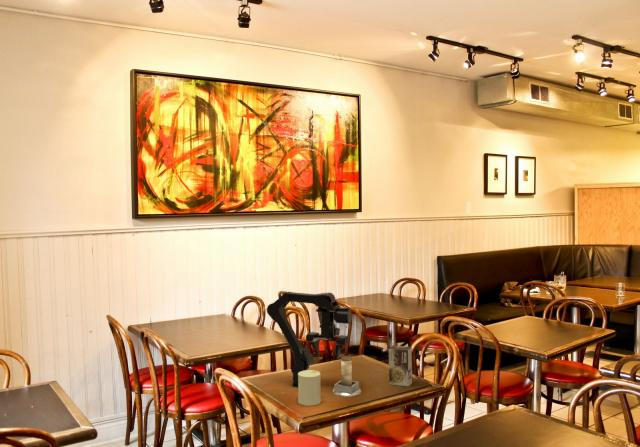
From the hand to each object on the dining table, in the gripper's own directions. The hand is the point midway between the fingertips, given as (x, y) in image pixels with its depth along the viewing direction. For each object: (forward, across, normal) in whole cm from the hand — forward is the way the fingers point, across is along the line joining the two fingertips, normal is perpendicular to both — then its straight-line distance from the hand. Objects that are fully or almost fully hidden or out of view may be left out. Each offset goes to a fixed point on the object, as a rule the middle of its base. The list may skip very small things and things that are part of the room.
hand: (327, 358), depth 237 cm
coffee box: (+13, -26, -19) cm, 35 cm away
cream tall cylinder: (+12, -10, +1) cm, 16 cm away
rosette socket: (+13, -10, +1) cm, 16 cm away
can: (+13, -1, +18) cm, 23 cm away
